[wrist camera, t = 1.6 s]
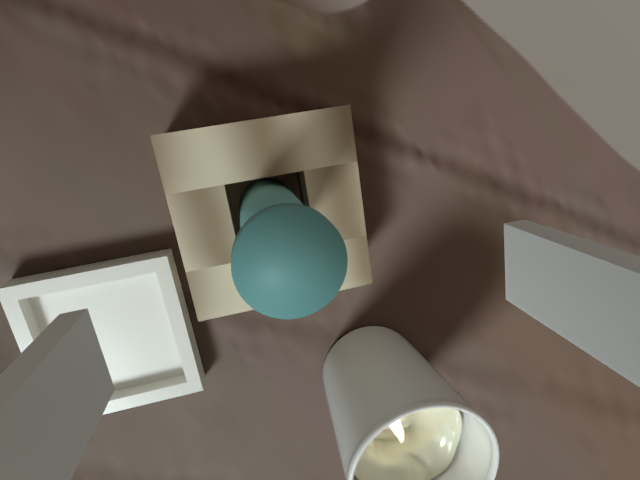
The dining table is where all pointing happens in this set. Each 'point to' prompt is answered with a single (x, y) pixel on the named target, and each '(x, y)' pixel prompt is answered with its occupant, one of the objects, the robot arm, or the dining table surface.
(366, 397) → the candle holder
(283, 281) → the plug
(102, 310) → the tray
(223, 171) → the beige socket block
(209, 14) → the dining table surface
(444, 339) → the dining table surface
